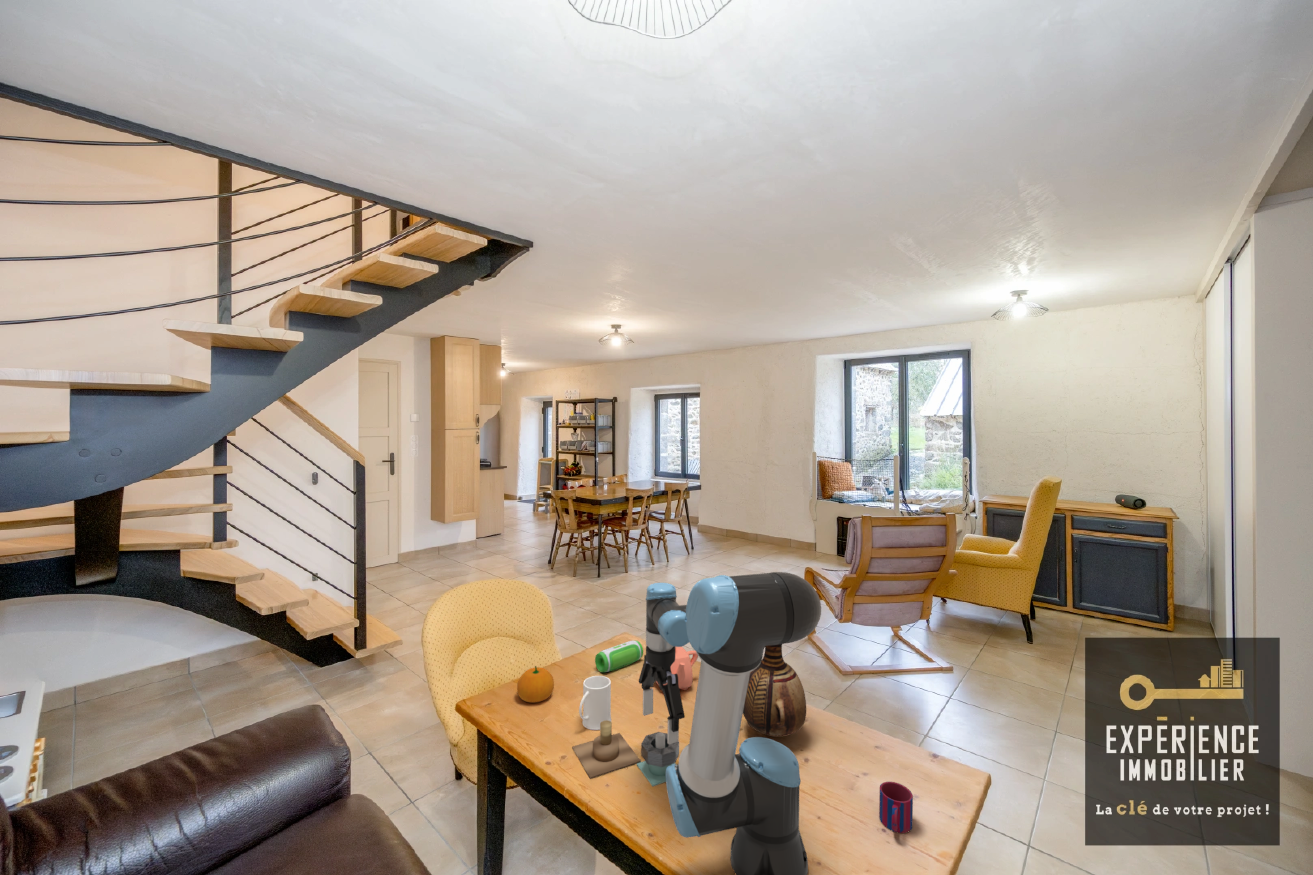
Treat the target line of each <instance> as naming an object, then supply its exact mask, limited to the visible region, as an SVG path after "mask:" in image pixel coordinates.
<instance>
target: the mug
mask: <svg viewBox="0 0 1313 875" xmlns="http://www.w3.org/2000/svg"><path fill="white" fill-rule="evenodd" d="M611 683H612V681H611V679H610V678H609V677H607V676H605V675H593V676H589V677H587V678H585V679H584V681H583V684H582V689H583V693H582V694H583V696H582V697H581V700H580V703H579V707H578V713H579V717H580V718H581V719H582V722H581V723H582V725H583V728H585V729H588V730H591V731H600V723H601V722H602V721H605V720H608V721H611V722H612V716H611V715H612V714H611V713H612V712H611V710H612V709H611V708H612V707H611V706H612V705H611V699H612V698H611V692H612V691H611V688H612V687H611V685H612V684H611Z"/></svg>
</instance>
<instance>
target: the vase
mask: <svg viewBox="0 0 1313 875" xmlns="http://www.w3.org/2000/svg"><path fill="white" fill-rule="evenodd" d="M742 716H743V717H744V719H745V721H746V723H748V725H749V726H750V727H751V728H752V729H754V730H756V732H758V733H760V734H762V735H765V736H769V737H785V736H788V735H792V734H796V733H797V732H799V731H800V730H801V729H802V728H803V726H804V724H805V721H806V718H807V698H806V692H805V689H804V687H803V684H802V681H801V679H800V677H799V675H798V673H797V672H796V670H795V669H794V668H793V666H791V665H790V664H788V663H787V662H785V660H784V657H783V644H778V645H771V646H765V648H764V652H763V657H762V660H761V663H760V665H759V666H758V667H757V668H756V669H755V670H753V671H751V672H750V676H749V682H748V687H747V693H746V698H745V704H744V709H743V715H742Z"/></svg>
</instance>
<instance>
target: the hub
mask: <svg viewBox="0 0 1313 875" xmlns="http://www.w3.org/2000/svg"><path fill="white" fill-rule="evenodd" d="M612 724H613V723H612V720H611V721H608V720H605V721H602V722H601V723H600V730H599V731H600V732H599V733H600V734H599V735H597V736H596V737H595V738H594V739H593V740H590V741H587V742H583V743H580V744H577V745H573V746H572V750H573V752H574V754H575V755H576V757H577V758H578V760H579V762H580V764H581V766H582V767H583V769H584V771H585V773H586V774H587V776H588V777H589V779H590V780H591V779H595V778H598V777H600V776H604V775H607V774H610V773H613V772H616V771H619V770H622V769H626V768H628V767H631V766H634V765H635V766H636V765H637V763H640V762H642V760H641V759H640V758H639V756H638V755H637V753H636V752H635V751H634V749H633V748H632V747H631V746H630V745H629V743H628V742H627V740H626V739H625V738H624V737H623V735H622V734H621V733H620V732H617V733H614V734H612V731H613V730H612V729H613V728H612Z"/></svg>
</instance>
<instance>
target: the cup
mask: <svg viewBox="0 0 1313 875" xmlns="http://www.w3.org/2000/svg"><path fill="white" fill-rule="evenodd" d="M878 800H879V803H878V804H879V807H878V808H879V809H878V810H879V811H878V812H879V813H878V814H879V815H878V818H879V821H880V822H881V824H882V825H883V826H884V827H885V828H886V827H887V828H886V829H888V830H889V829H890V831H891V830H892V831H891V832H894V833H897V832H898V833H897V834H907V833H909V832H911V831H912V829H913V821H914V820H913V812H914V811H913V808H914V805H913V804H914V802H913V801H914V796H913V793H912V791H911V790H910V789H909V788H908V787H907V786H906V785H903V784H901V783H899V782H895V781H885V782H882V783H880V785H879V799H878ZM910 830H911V831H910ZM908 831H909V832H908ZM906 832H907V833H906Z"/></svg>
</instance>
